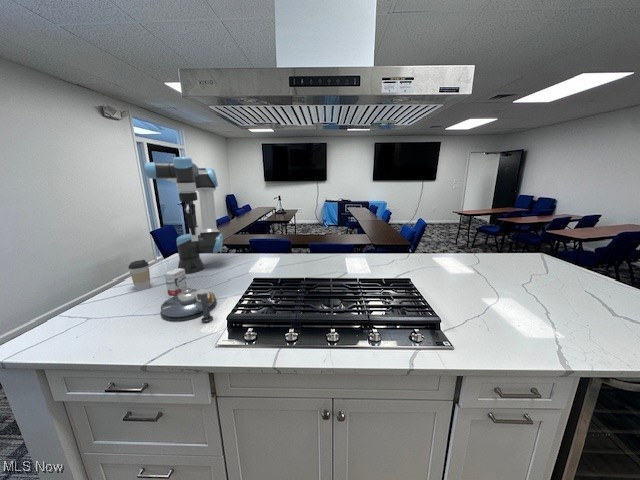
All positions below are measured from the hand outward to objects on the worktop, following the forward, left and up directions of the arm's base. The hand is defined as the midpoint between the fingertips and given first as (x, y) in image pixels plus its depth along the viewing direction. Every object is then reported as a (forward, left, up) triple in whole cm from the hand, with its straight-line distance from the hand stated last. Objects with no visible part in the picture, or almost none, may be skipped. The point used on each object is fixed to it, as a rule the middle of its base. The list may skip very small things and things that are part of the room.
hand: (195, 240), depth 122 cm
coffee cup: (-3, -37, -28) cm, 47 cm away
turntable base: (+15, +3, -28) cm, 32 cm away
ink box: (0, -14, -28) cm, 32 cm away
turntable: (+15, +3, -27) cm, 31 cm away
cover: (+14, +3, -25) cm, 29 cm away
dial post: (+24, +17, -28) cm, 40 cm away
